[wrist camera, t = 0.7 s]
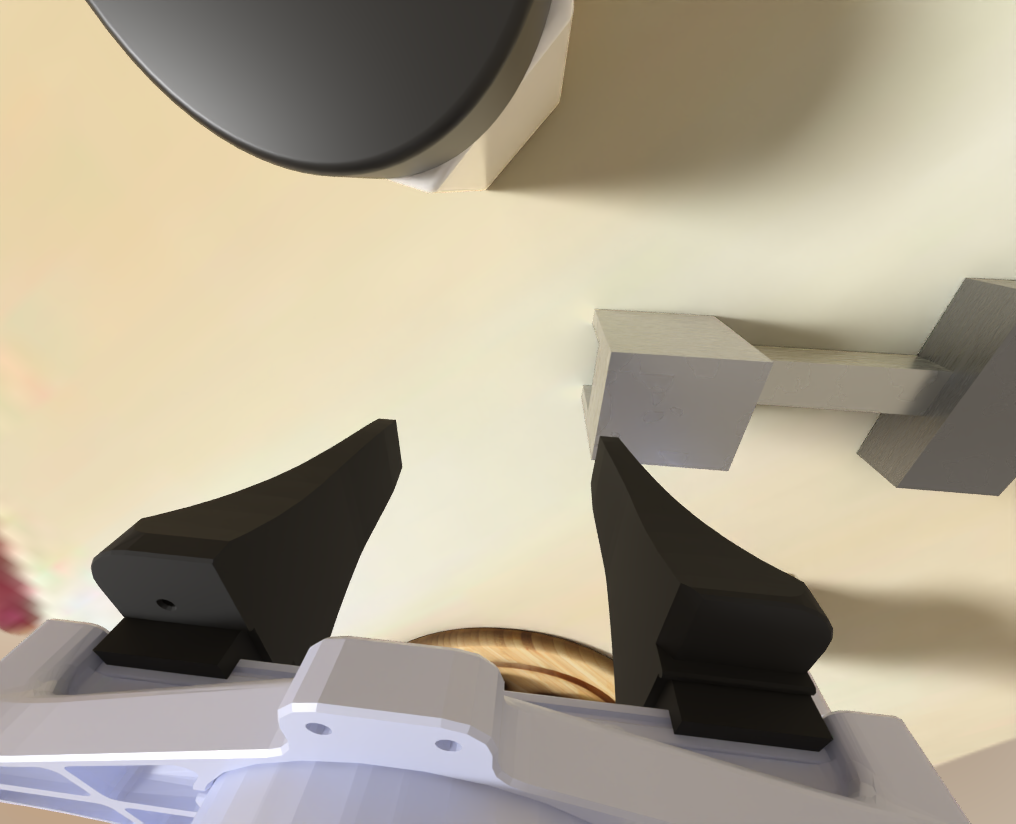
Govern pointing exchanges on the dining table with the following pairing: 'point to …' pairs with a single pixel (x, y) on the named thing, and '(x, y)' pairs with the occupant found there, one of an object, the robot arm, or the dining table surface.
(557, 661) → the wooden plate with food
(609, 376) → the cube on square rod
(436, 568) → the dining table surface
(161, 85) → the jar
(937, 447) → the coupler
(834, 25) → the dining table surface
